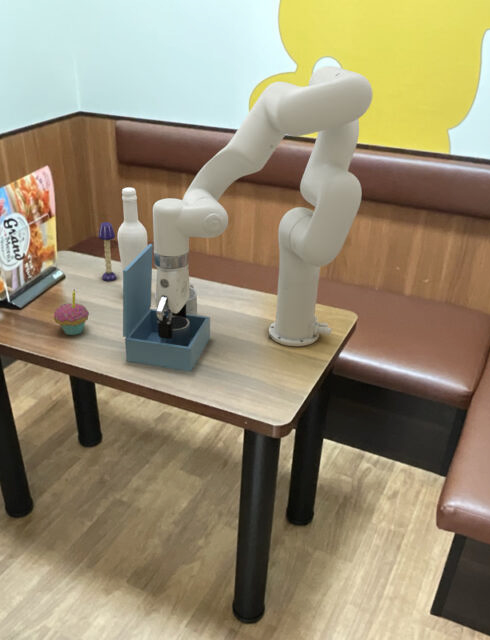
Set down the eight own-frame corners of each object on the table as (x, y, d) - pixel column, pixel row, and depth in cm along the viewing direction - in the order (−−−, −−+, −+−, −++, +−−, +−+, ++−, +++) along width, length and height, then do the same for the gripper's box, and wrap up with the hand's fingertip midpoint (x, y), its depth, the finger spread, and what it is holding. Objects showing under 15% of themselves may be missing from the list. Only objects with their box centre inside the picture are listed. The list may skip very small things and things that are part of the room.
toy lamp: (111, 273, 183) (106, 219, 174) (121, 277, 181) (117, 223, 171) (99, 278, 180) (93, 224, 171) (110, 283, 178) (104, 227, 168)
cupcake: (97, 326, 156) (91, 284, 149) (77, 342, 149) (71, 298, 143) (69, 320, 159) (63, 277, 152) (49, 334, 152) (41, 291, 146)
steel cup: (193, 345, 147) (193, 317, 142) (184, 359, 141) (183, 331, 137) (166, 341, 148) (165, 314, 144) (157, 355, 143) (155, 327, 138)
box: (210, 341, 150) (210, 316, 146) (190, 374, 137) (190, 348, 134) (150, 332, 153) (149, 308, 150) (126, 364, 141) (124, 338, 137)
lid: (152, 244, 140) (149, 243, 140) (126, 270, 127) (122, 270, 128) (150, 307, 149) (147, 306, 149) (126, 337, 137) (122, 336, 137)
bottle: (149, 302, 167) (143, 193, 150) (120, 302, 167) (110, 193, 150) (152, 290, 174) (146, 184, 157) (124, 289, 174) (115, 184, 157)
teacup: (179, 335, 152) (178, 306, 148) (147, 322, 158) (145, 294, 153) (212, 314, 161) (212, 286, 157) (181, 303, 167) (180, 276, 162)
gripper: (174, 276, 124) (175, 348, 133) (199, 246, 137) (199, 313, 147) (140, 271, 125) (143, 343, 135) (168, 242, 139) (169, 309, 149)
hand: (172, 327), depth 141 cm, fingers open, 9 cm apart
